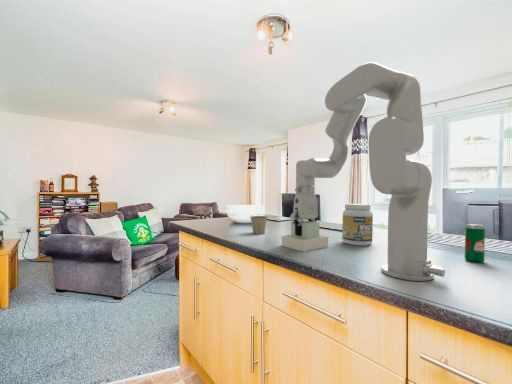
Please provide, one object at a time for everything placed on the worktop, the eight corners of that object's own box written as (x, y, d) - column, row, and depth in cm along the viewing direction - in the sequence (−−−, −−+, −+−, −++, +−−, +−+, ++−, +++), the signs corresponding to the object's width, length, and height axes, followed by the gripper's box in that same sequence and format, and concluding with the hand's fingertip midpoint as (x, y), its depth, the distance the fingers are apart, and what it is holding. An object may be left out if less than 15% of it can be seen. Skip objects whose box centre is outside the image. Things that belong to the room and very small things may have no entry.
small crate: (319, 239, 107) (319, 222, 107) (307, 241, 103) (307, 223, 103) (302, 236, 114) (302, 220, 114) (290, 238, 110) (291, 221, 110)
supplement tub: (356, 247, 107) (356, 205, 107) (336, 241, 119) (336, 203, 118) (378, 245, 112) (379, 204, 112) (357, 239, 123) (358, 203, 123)
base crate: (328, 247, 108) (328, 236, 108) (303, 252, 100) (303, 240, 100) (305, 242, 118) (305, 232, 118) (281, 246, 109) (281, 235, 109)
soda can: (476, 263, 84) (477, 226, 84) (460, 259, 89) (461, 224, 89) (488, 262, 86) (489, 225, 85) (472, 258, 90) (472, 223, 90)
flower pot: (247, 232, 141) (247, 216, 141) (263, 231, 145) (263, 215, 145) (254, 235, 132) (254, 218, 132) (271, 234, 136) (271, 217, 136)
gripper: (296, 191, 100) (296, 238, 100) (326, 191, 110) (326, 233, 111) (283, 190, 106) (282, 235, 106) (312, 190, 117) (312, 231, 117)
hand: (304, 234), depth 109 cm, fingers closed on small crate, 6 cm apart
